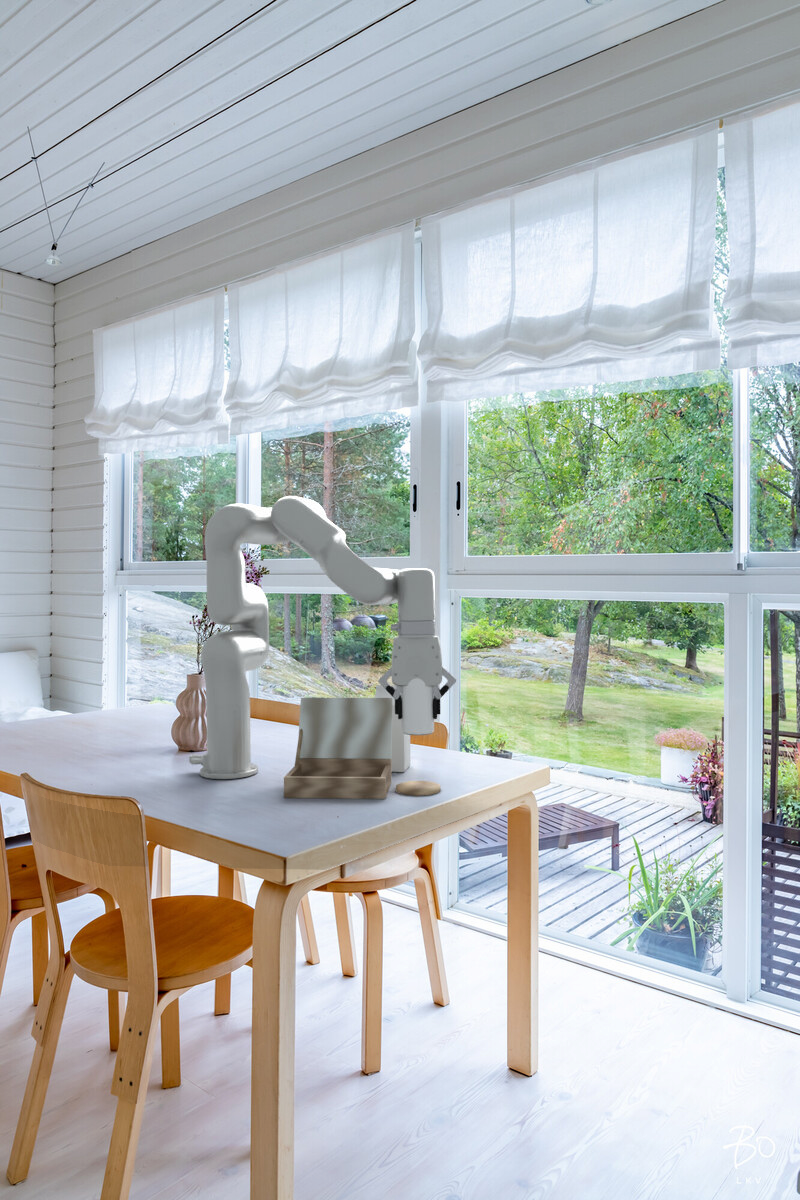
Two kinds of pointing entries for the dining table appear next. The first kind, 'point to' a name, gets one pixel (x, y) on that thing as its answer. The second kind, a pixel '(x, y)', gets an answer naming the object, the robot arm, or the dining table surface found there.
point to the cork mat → (418, 788)
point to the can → (417, 708)
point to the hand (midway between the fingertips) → (417, 717)
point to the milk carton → (396, 736)
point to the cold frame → (342, 749)
